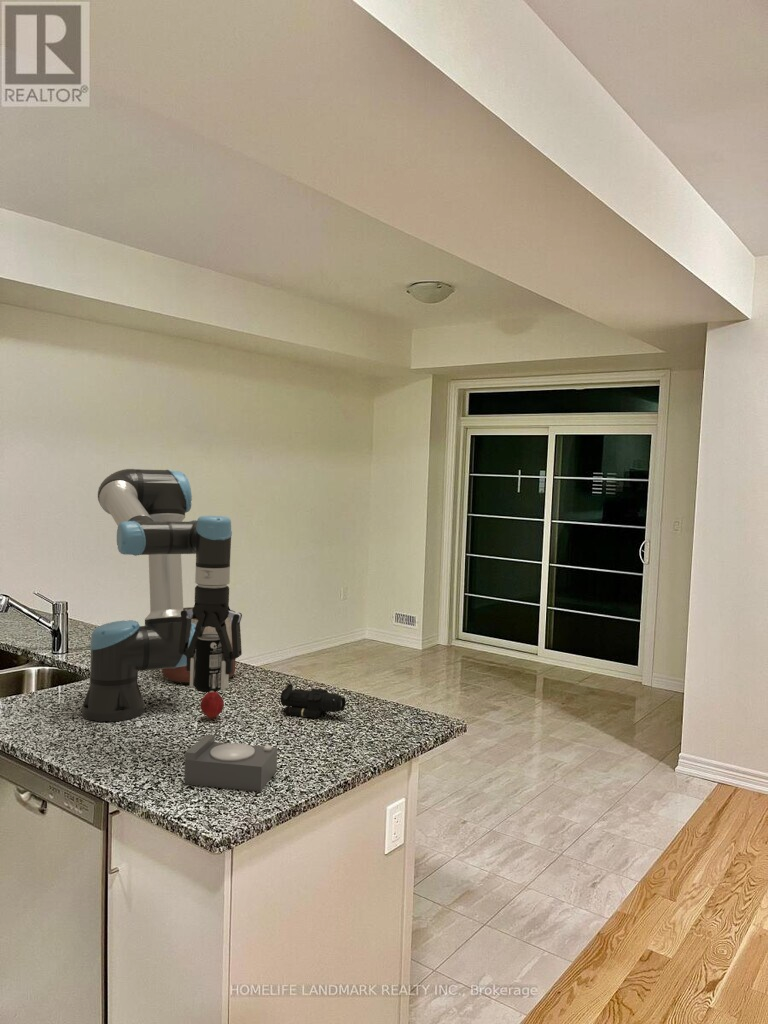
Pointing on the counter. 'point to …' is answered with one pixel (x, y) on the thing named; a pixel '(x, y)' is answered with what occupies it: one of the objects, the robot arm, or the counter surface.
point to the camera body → (229, 765)
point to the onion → (212, 704)
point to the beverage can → (208, 663)
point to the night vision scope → (310, 702)
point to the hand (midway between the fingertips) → (209, 686)
